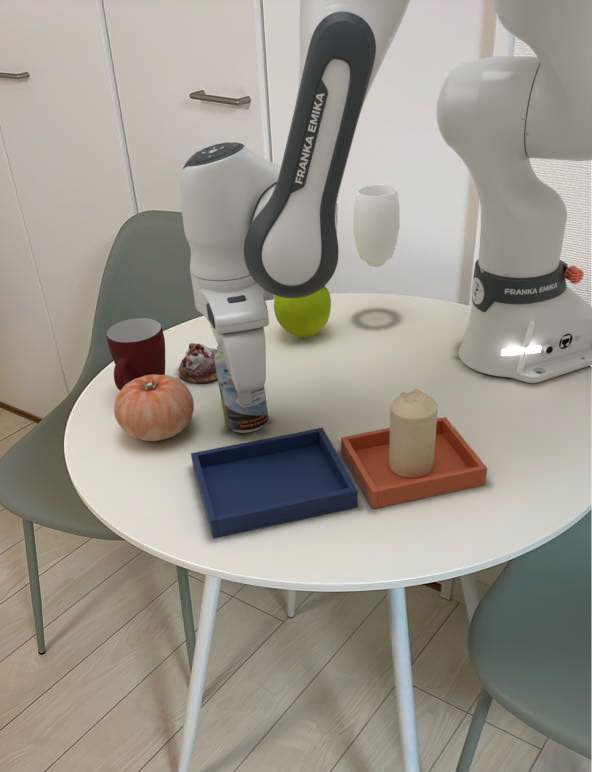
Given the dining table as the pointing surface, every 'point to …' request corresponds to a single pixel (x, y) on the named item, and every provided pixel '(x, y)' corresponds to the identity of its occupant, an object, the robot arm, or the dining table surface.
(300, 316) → the fruit
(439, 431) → the terracotta tray
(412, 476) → the candle
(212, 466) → the navy tray
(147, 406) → the orange pumpkin
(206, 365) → the pastry
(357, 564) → the dining table surface
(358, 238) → the cup
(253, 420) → the beverage can
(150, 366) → the mug
